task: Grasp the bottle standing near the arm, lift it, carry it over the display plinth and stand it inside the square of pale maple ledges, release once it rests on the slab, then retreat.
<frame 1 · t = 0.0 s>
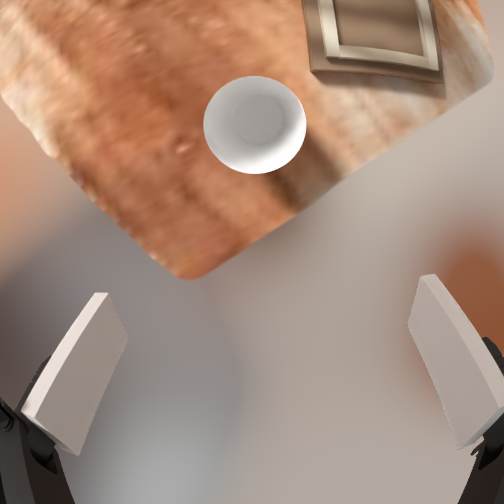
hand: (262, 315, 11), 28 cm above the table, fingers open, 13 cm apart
cup: (257, 119, 33), on the table
plinth: (370, 15, 24), on the table
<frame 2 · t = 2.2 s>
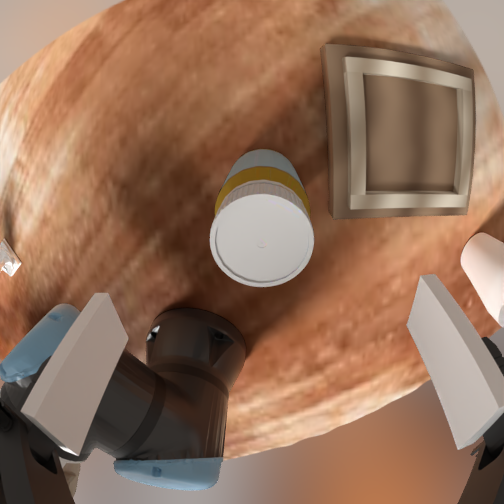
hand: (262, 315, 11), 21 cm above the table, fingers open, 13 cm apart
bust: (64, 382, 54), on the table
cup: (475, 251, 33), on the table
bottle: (263, 179, 30), on the table
figurine: (7, 259, 37), on the table
plinth: (403, 133, 26), on the table
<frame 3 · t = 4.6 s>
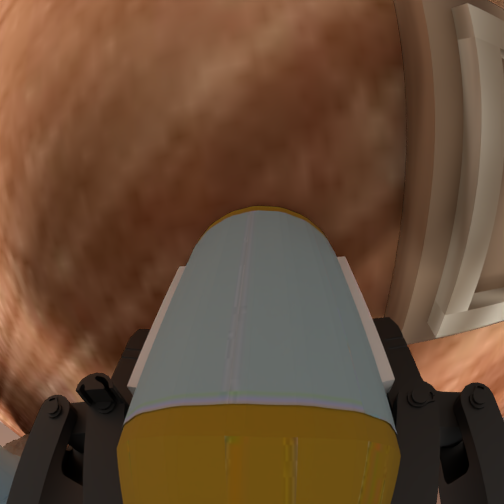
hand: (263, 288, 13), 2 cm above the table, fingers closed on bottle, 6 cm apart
bottle: (263, 266, 15), on the table, touching gripper
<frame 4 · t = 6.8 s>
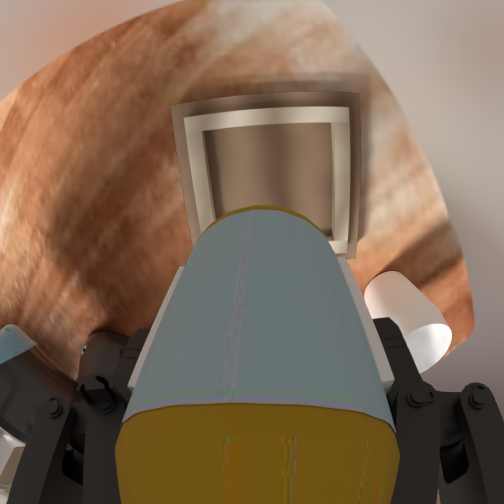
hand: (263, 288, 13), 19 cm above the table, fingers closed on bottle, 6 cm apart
bust: (35, 385, 56), on the table
cup: (385, 290, 36), on the table
bottle: (263, 265, 14), point 18 cm above the table, touching gripper
plinth: (271, 178, 30), on the table
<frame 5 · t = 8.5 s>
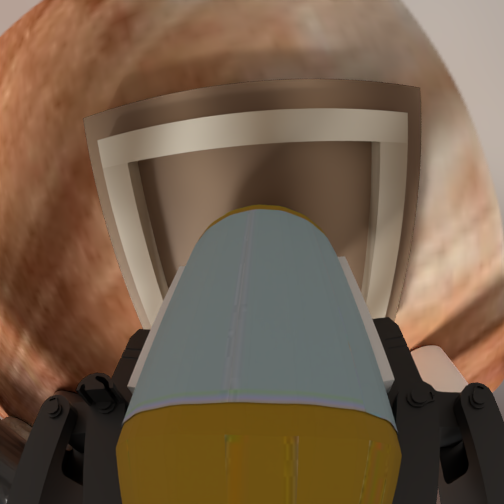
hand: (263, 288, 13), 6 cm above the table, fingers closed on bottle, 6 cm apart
bust: (18, 417, 46), on the table
cup: (415, 364, 25), on the table
bottle: (263, 265, 14), point 4 cm above the table, touching gripper
plinth: (262, 232, 18), on the table
when the fingers open (4 cm above the table, at t = 9.1 s): bottle stays where it is, resting on plinth.
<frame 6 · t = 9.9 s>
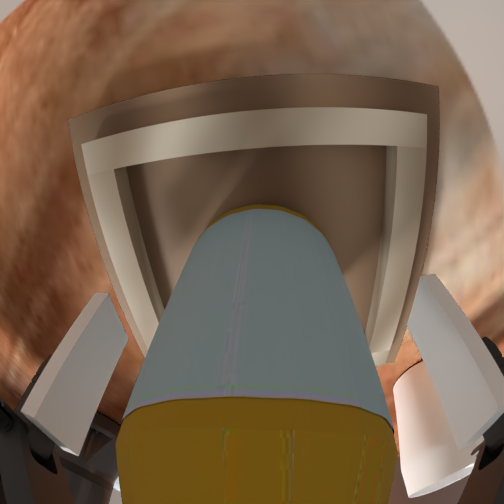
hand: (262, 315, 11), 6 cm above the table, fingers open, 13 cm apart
cup: (421, 375, 23), on the table
bottle: (262, 264, 15), point 2 cm above the table, touching plinth
plinth: (264, 243, 17), on the table
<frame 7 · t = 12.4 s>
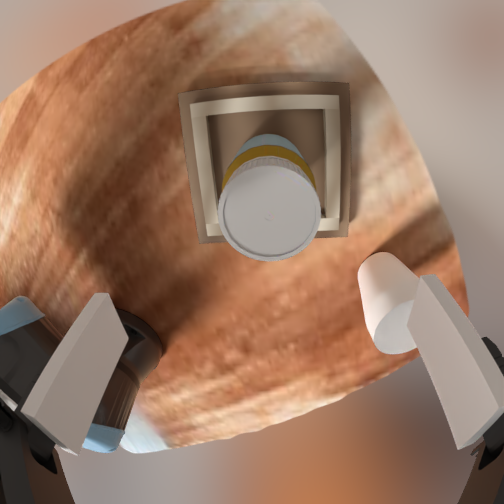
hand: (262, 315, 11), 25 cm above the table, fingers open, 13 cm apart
cup: (378, 270, 39), on the table
bottle: (268, 164, 30), point 2 cm above the table, touching plinth
plinth: (269, 160, 32), on the table
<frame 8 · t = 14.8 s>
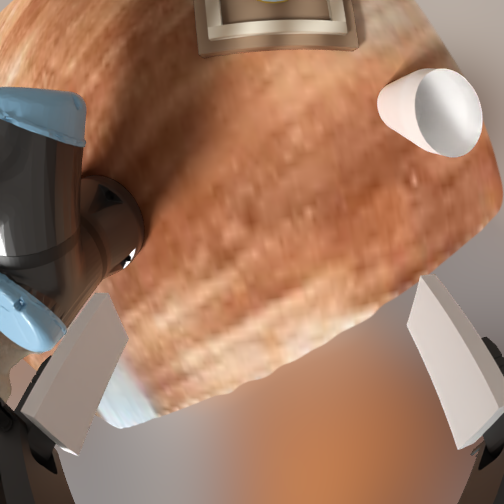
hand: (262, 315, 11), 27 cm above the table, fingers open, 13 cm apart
bust: (9, 306, 51), on the table
cup: (398, 106, 30), on the table
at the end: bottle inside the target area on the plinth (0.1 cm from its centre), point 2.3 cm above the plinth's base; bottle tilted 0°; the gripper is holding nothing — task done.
